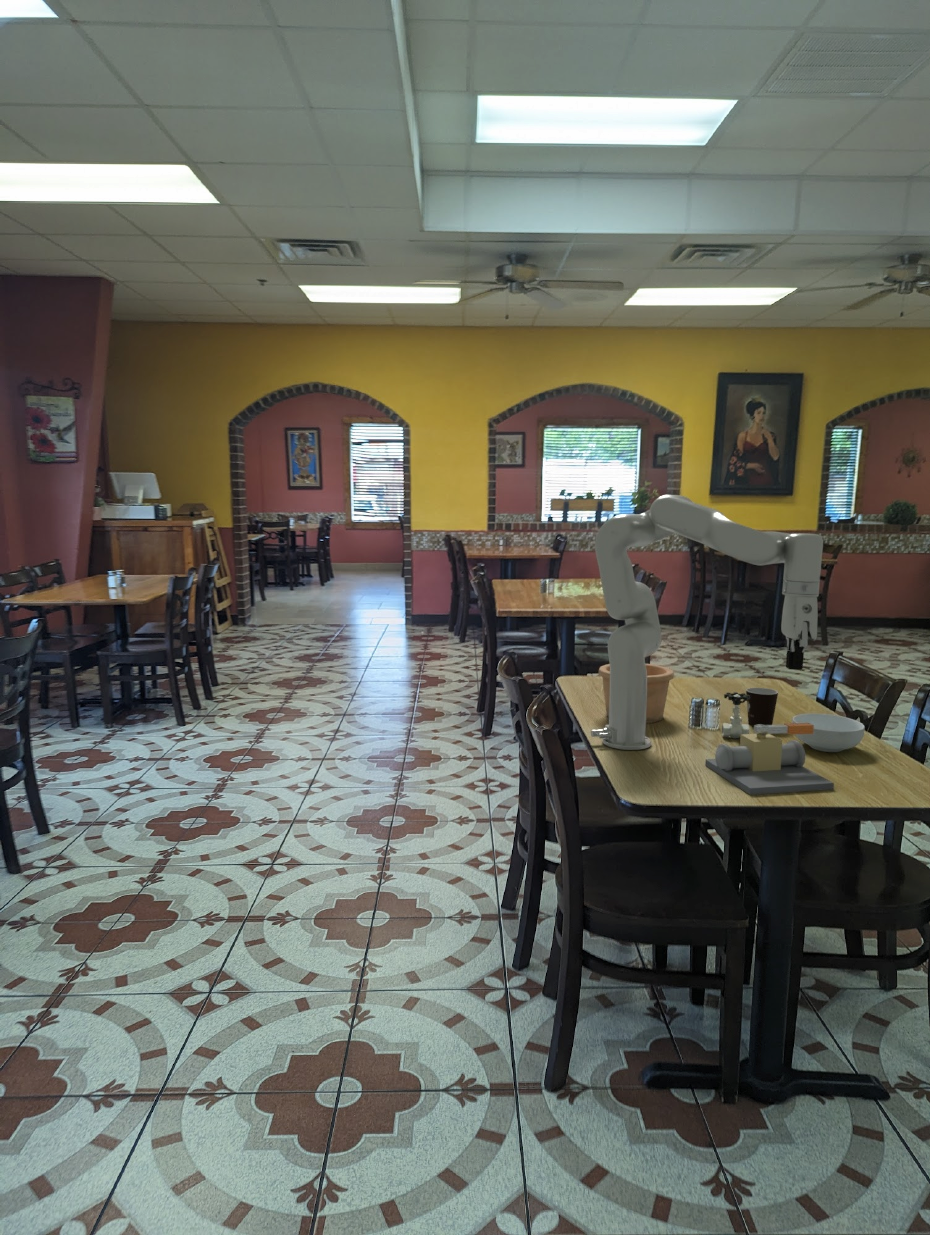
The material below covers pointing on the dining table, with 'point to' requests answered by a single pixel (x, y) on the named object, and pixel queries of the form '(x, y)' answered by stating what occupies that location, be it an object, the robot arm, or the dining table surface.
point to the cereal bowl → (830, 732)
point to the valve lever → (784, 728)
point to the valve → (735, 717)
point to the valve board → (773, 779)
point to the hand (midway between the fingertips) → (794, 668)
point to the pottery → (655, 689)
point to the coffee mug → (761, 705)
